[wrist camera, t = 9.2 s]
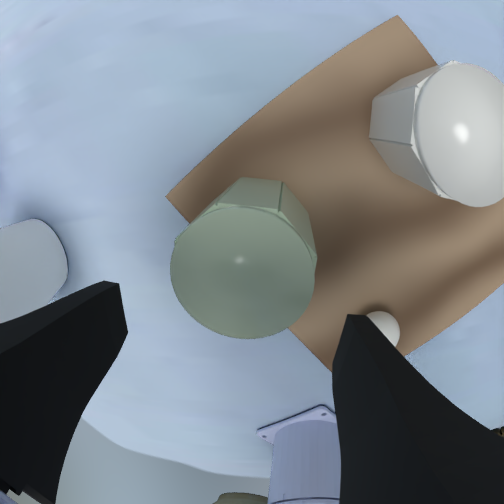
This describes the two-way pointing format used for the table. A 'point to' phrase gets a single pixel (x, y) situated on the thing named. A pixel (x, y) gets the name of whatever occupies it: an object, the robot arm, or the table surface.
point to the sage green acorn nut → (246, 261)
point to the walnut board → (360, 200)
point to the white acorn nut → (444, 131)
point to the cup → (29, 267)
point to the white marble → (386, 325)
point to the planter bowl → (241, 499)
